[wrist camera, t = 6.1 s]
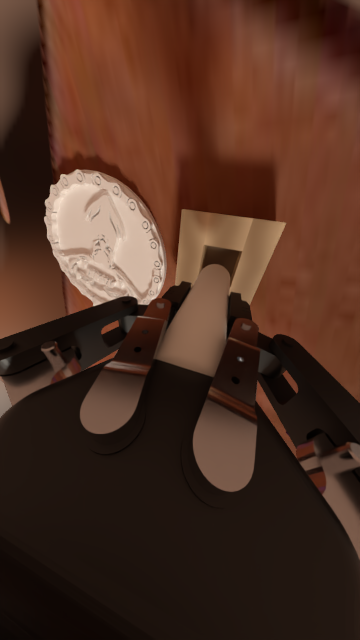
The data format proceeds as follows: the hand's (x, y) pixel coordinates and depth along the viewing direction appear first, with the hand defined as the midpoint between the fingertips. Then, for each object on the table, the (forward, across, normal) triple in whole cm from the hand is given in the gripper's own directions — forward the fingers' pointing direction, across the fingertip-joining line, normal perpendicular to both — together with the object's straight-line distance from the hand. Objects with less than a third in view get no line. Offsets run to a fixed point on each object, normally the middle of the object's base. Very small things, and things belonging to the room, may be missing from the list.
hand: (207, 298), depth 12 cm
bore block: (+14, 0, 0) cm, 14 cm away
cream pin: (+4, 0, 0) cm, 4 cm away
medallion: (+15, +21, +5) cm, 26 cm away
